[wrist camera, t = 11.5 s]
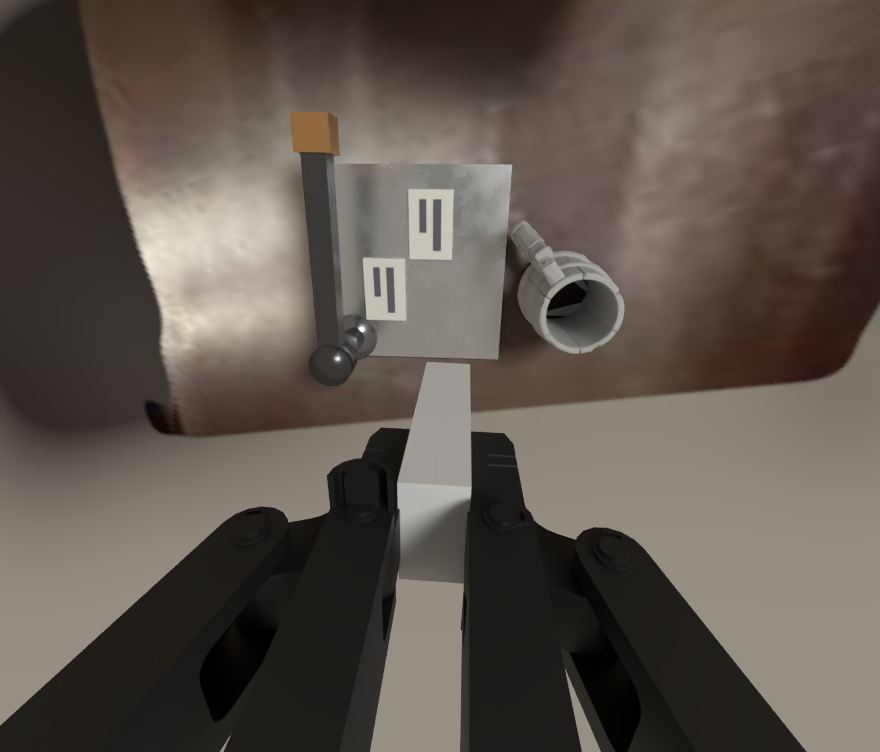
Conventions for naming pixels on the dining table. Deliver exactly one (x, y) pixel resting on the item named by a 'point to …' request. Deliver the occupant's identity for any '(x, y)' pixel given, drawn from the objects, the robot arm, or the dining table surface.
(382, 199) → the plate
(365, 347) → the grey metal knob
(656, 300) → the dining table surface
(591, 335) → the mug
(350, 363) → the grey lever orange grip
